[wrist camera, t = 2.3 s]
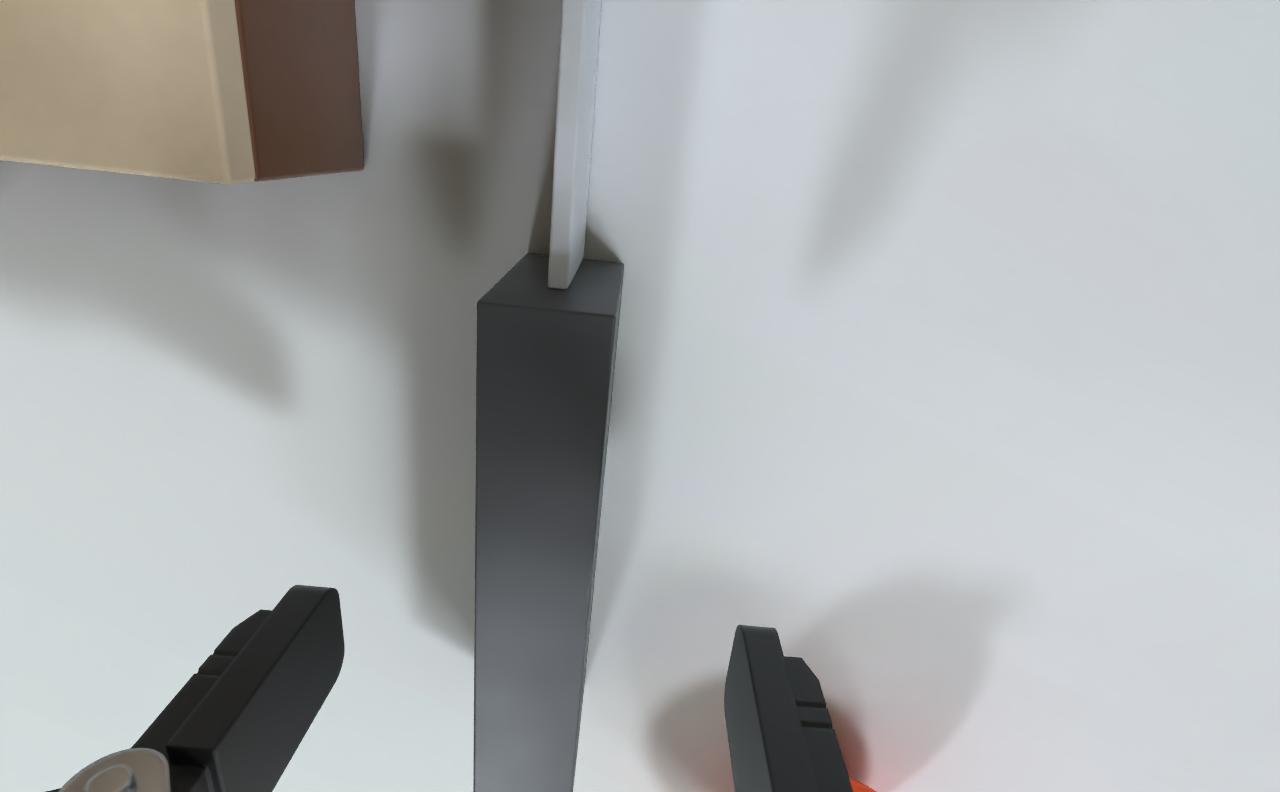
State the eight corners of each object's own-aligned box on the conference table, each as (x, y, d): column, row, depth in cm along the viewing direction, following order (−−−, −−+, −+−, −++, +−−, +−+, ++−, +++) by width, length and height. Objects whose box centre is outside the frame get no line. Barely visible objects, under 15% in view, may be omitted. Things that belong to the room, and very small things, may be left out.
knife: (583, 688, 21) (566, 846, 16) (511, 682, 21) (472, 839, 16) (669, -207, 12) (684, -424, 7) (543, -224, 12) (481, -453, 7)
